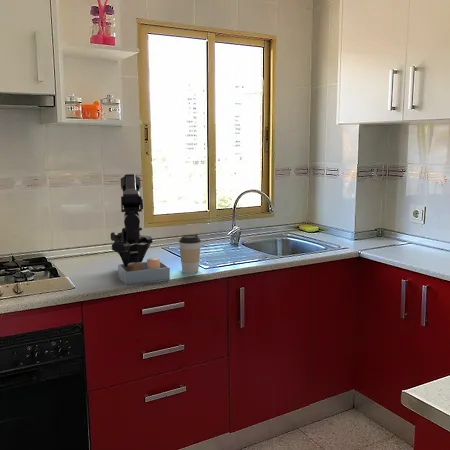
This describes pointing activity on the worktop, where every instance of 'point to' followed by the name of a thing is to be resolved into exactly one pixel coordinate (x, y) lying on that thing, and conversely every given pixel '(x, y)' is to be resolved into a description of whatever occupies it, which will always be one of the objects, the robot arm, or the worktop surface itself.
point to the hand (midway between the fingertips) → (133, 264)
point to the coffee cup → (190, 253)
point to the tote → (144, 274)
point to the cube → (134, 267)
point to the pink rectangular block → (153, 263)
